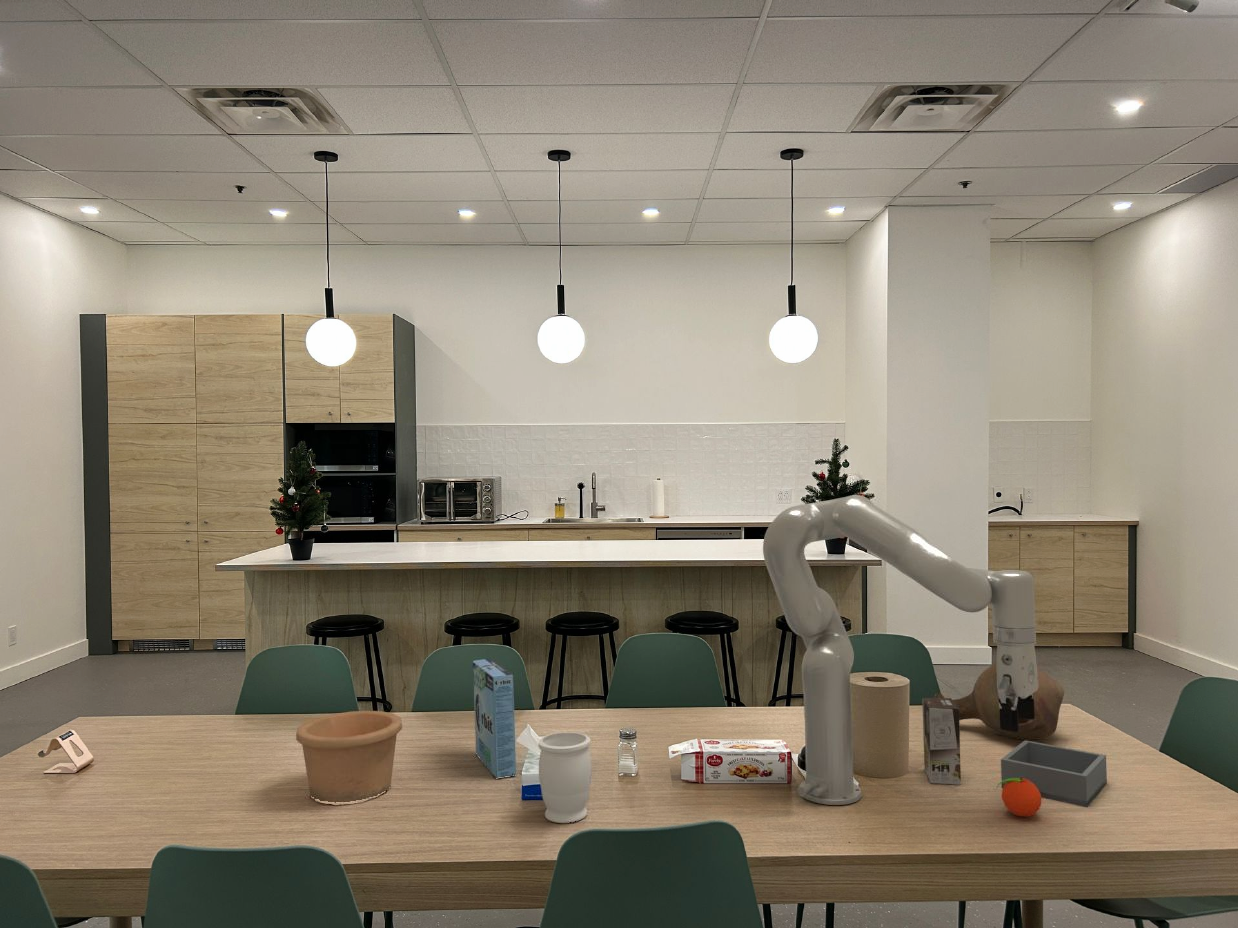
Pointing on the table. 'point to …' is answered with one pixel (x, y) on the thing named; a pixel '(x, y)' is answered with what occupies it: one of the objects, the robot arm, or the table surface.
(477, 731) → the gum box
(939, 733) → the coffee box
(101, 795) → the table surface
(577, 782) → the jar
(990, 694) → the jug
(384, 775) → the pottery
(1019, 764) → the bin
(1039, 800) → the clementine
